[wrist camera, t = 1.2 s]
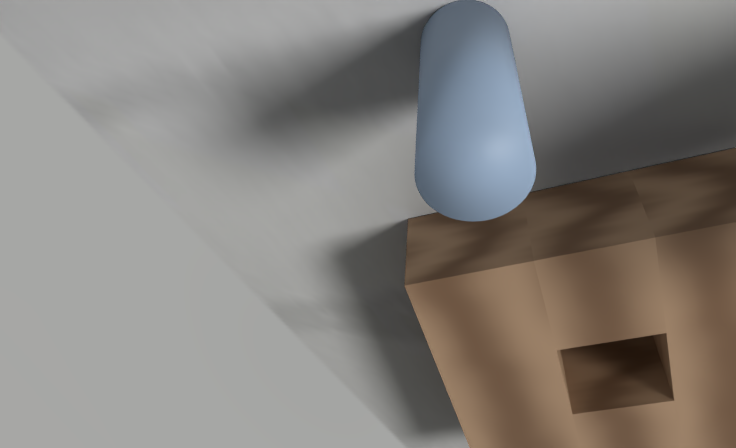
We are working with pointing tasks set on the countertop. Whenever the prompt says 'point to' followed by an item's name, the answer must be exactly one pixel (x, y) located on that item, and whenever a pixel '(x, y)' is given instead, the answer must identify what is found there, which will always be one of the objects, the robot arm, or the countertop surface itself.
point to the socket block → (589, 311)
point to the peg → (471, 116)
